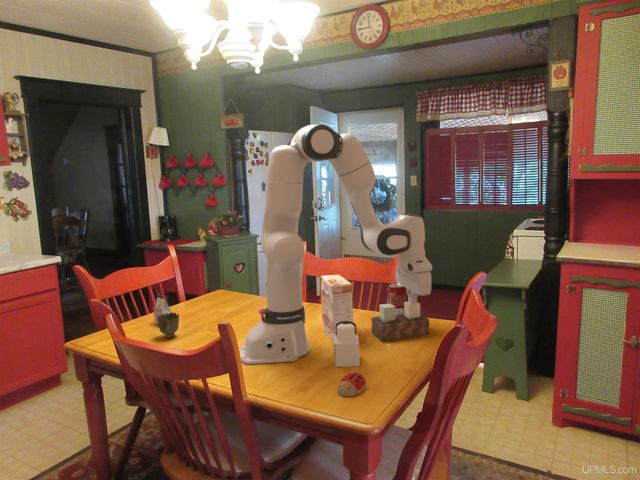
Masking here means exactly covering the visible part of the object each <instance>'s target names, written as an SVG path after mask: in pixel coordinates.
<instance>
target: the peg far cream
mask: <svg viewBox="0 0 640 480" xmlns="http://www.w3.org/2000/svg"><path fill="white" fill-rule="evenodd" d="M420 314H421V303H420V302H418V301H417V302H416V303H412V302H410V301H408V300H407V301H406V302H404V315H405V316H406V317H408V318H416V317H420Z"/></svg>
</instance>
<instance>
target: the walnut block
mask: <svg viewBox="0 0 640 480" xmlns="http://www.w3.org/2000/svg"><path fill="white" fill-rule="evenodd" d="M371 334H372V335H374V337H375V338H376V339H378V340H379V341H380V342H381V343H383V342H391V341H398V340H400V341H401V340H406V339H413V338H420V337H426V336H430V319H429V318H427V317H426V316H425V315H424V314H422V313H420V317H416V318H408V317H406V316H405V315H404V313H402V314H397V315H395V320H392V321H382V320H381V319H380V315H379V316H378V315H377V316H373V317H371Z"/></svg>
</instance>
